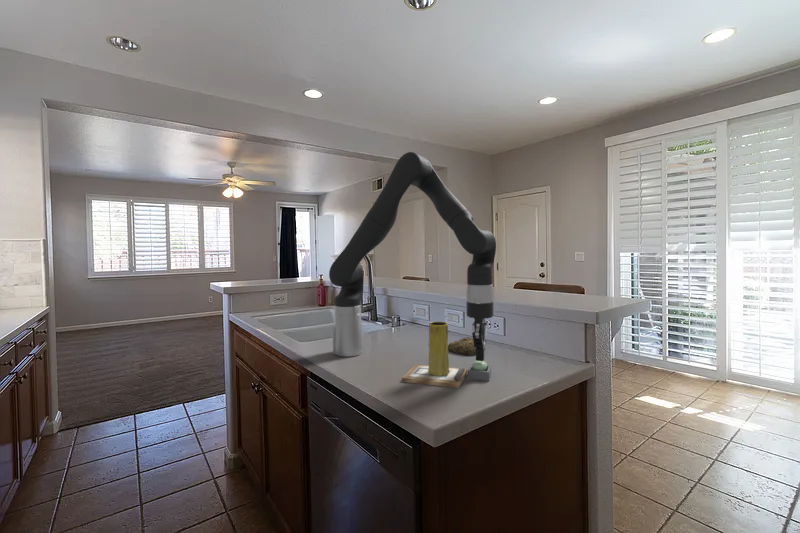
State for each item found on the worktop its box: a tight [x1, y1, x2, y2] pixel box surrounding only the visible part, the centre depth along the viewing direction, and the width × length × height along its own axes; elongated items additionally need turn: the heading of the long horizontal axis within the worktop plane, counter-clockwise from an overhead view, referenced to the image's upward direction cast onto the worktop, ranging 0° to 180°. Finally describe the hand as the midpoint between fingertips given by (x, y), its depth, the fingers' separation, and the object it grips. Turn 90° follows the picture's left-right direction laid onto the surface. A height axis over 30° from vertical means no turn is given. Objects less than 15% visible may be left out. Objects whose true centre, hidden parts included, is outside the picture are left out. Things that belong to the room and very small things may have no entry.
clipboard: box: [401, 363, 468, 389], centre depth 108 cm, size 16×13×2 cm
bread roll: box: [448, 336, 486, 357], centre depth 135 cm, size 13×12×5 cm
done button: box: [472, 360, 488, 371], centre depth 108 cm, size 4×4×2 cm
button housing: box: [466, 363, 492, 382], centre depth 108 cm, size 6×6×2 cm
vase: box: [428, 321, 450, 376], centre depth 107 cm, size 6×6×14 cm
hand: (480, 360), depth 108 cm, fingers closed
